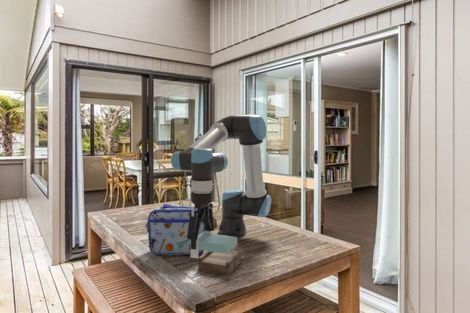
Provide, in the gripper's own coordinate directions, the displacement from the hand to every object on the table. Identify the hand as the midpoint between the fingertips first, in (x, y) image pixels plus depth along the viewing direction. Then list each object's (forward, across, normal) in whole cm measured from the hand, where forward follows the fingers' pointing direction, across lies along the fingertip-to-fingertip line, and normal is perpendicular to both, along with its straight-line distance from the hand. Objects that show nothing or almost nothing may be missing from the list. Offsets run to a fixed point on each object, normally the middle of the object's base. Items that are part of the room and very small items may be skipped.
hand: (201, 252), depth 117 cm
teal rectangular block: (-3, 0, +5) cm, 6 cm away
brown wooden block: (+11, -15, +1) cm, 19 cm away
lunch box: (+11, -21, -23) cm, 33 cm away
